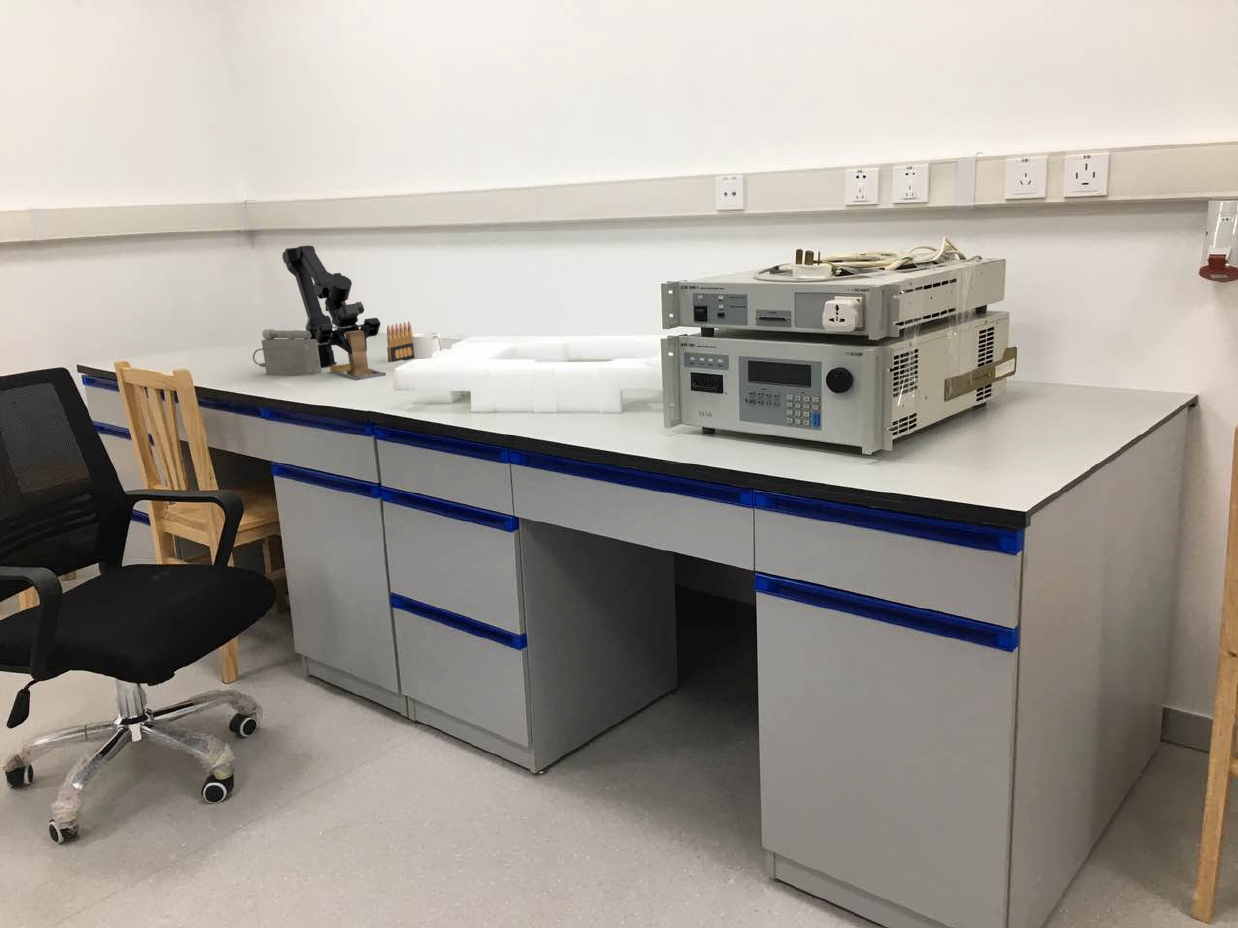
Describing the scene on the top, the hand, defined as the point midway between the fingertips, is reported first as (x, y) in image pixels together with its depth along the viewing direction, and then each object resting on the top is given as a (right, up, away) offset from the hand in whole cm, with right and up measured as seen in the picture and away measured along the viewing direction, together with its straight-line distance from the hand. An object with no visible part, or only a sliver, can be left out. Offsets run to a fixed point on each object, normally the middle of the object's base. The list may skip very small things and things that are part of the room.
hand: (358, 352), depth 296 cm
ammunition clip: (+7, 0, +27) cm, 28 cm away
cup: (+20, -4, +10) cm, 23 cm away
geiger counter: (-26, -6, +14) cm, 30 cm away
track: (-2, -6, +5) cm, 8 cm away
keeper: (0, -6, +3) cm, 7 cm away
